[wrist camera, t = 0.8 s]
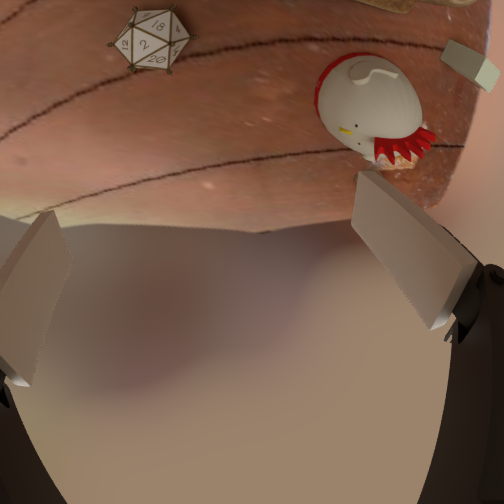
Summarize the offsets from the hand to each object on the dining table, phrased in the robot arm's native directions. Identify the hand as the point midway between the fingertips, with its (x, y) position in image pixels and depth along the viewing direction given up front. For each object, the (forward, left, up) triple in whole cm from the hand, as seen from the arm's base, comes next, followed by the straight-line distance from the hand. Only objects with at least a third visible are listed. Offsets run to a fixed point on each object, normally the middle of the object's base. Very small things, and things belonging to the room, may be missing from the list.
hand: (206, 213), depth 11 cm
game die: (0, -8, -28) cm, 29 cm away
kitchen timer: (-5, +19, -28) cm, 34 cm away
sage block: (-21, +26, -28) cm, 44 cm away
